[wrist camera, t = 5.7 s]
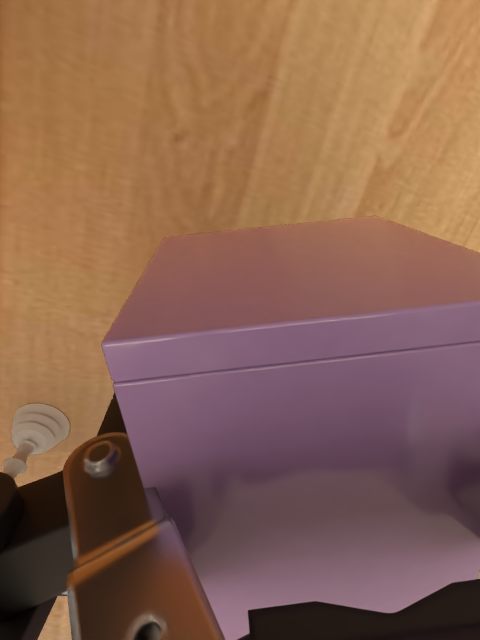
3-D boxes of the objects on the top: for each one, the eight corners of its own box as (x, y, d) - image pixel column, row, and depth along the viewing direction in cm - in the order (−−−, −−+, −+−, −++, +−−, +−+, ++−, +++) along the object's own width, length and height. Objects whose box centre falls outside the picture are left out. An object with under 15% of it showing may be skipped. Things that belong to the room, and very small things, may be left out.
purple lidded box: (163, 236, 9) (98, 343, 4) (376, 215, 10) (587, 290, 4) (205, 468, 13) (200, 680, 8) (356, 449, 14) (452, 644, 8)
